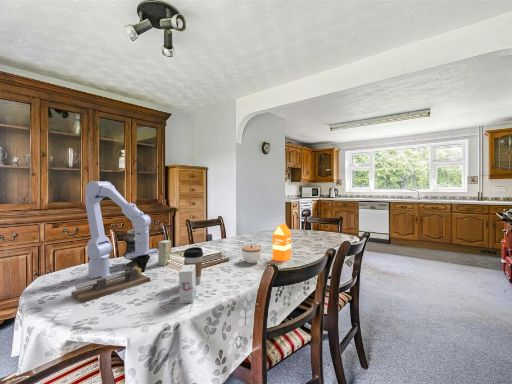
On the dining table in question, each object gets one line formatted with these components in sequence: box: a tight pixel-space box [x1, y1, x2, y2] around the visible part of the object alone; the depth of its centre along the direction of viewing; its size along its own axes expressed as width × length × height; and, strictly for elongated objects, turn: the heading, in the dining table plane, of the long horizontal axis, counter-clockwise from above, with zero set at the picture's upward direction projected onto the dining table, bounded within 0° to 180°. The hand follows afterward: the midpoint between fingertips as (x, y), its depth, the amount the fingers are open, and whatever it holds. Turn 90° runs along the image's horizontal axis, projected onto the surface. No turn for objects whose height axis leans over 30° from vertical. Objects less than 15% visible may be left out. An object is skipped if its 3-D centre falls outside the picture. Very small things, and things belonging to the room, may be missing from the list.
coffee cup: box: [182, 246, 204, 286], centre depth 116 cm, size 8×8×15 cm
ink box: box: [178, 264, 197, 304], centre depth 101 cm, size 9×5×12 cm, turn 5°
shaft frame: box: [71, 267, 151, 304], centre depth 111 cm, size 10×27×6 cm, turn 143°
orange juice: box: [272, 223, 292, 262], centre depth 156 cm, size 8×9×20 cm
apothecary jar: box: [123, 229, 138, 268], centre depth 142 cm, size 12×12×18 cm
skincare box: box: [157, 239, 172, 266], centre depth 144 cm, size 6×4×12 cm
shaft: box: [74, 265, 142, 291], centre depth 110 cm, size 4×24×4 cm, turn 143°
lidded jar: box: [241, 244, 262, 264], centre depth 149 cm, size 11×11×9 cm
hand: (142, 271), depth 121 cm, fingers closed
